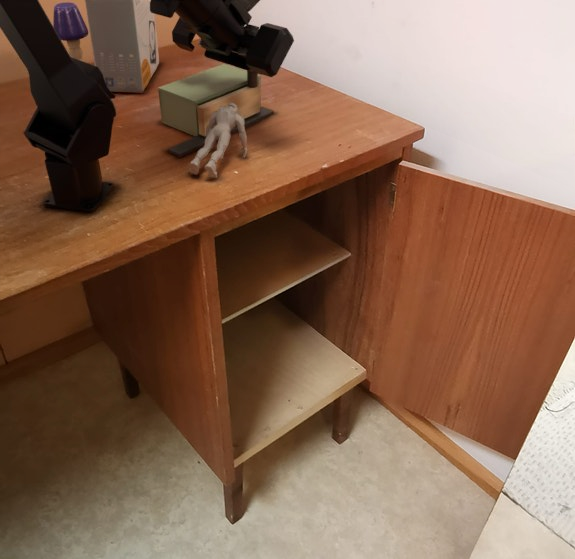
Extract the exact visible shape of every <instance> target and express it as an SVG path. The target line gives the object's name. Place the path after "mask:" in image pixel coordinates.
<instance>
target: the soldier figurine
mask: <svg viewBox="0 0 575 559" xmlns="http://www.w3.org/2000/svg"><path fill="white" fill-rule="evenodd" d="M236 124H237V127H238V131H237V132H238V138H239V140H240V143H241V149H240V150H239V153H240V154H241V153H243V154H242V156H241V157H242V158H246V156H247V153H248V148H247V142H248V136H247V132H246V127H244V118H243V116H242V115H241V114H240V115H238V108H237V105H236V104H234V103H230V104H228V106H226V107H225V106H221V107H219V108H218V111H215V112H213V113H212V115H211V118H210V120H209V124H208V125H207V126H206V139H205V142H204V143H205V145H204V146H203V147H201V148H199V149H198V150H197V152H196V155H195V156H194V158H193V159H192V160H191V161H190V163H189V167H190V168H189V169H188V171H189V172H190V174H191V175H194V176H197V175H199V172H200V170H199V168H200V164H201V161H202V160H203V159H204V158H207V157H208V156H209V152H211V151H212V149H213V148H214V146H215V145H216V143H217V145H216V150H215V151H214V152H212V154H211V156H210V158H209V161H208V162H207V163H206V164H205V165H204V167H203V168H204V170H205V171H206V172H208V174H207V176H208V177H210V178H211V179H217V178H218V172H217V163H218V161H221V160H223V159H224V155H225V151H226V150H227V149H228V147H229V144H230V141H231V136H232V133H231V134H230V132H231V130H232V129H233V128H234V127H235V126H236Z"/></svg>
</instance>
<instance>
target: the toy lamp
mask: <svg viewBox="0 0 575 559" xmlns="http://www.w3.org/2000/svg"><path fill="white" fill-rule="evenodd" d="M52 19H53V20H52V21H53V23H52V25H53V27H54V29H55V31H56V32H57V34H58V36H59V38H60V39H61V41H62V42H63V41H65V42H66V44H67V47H68V53H69V55H70V57H72V58H75V59H78V60H81V61H83V62H85V59H84V58H83V50H82V48H81V39H84V38H86V37H88V35H89V28H88V27H87V24H86V22H85V20H84V18H83V15H82V13H81V12H80V9H79V8H78V5H77V4H76V3H74V2H59V3H56V4H55V5H54V6H53V18H52Z"/></svg>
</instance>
